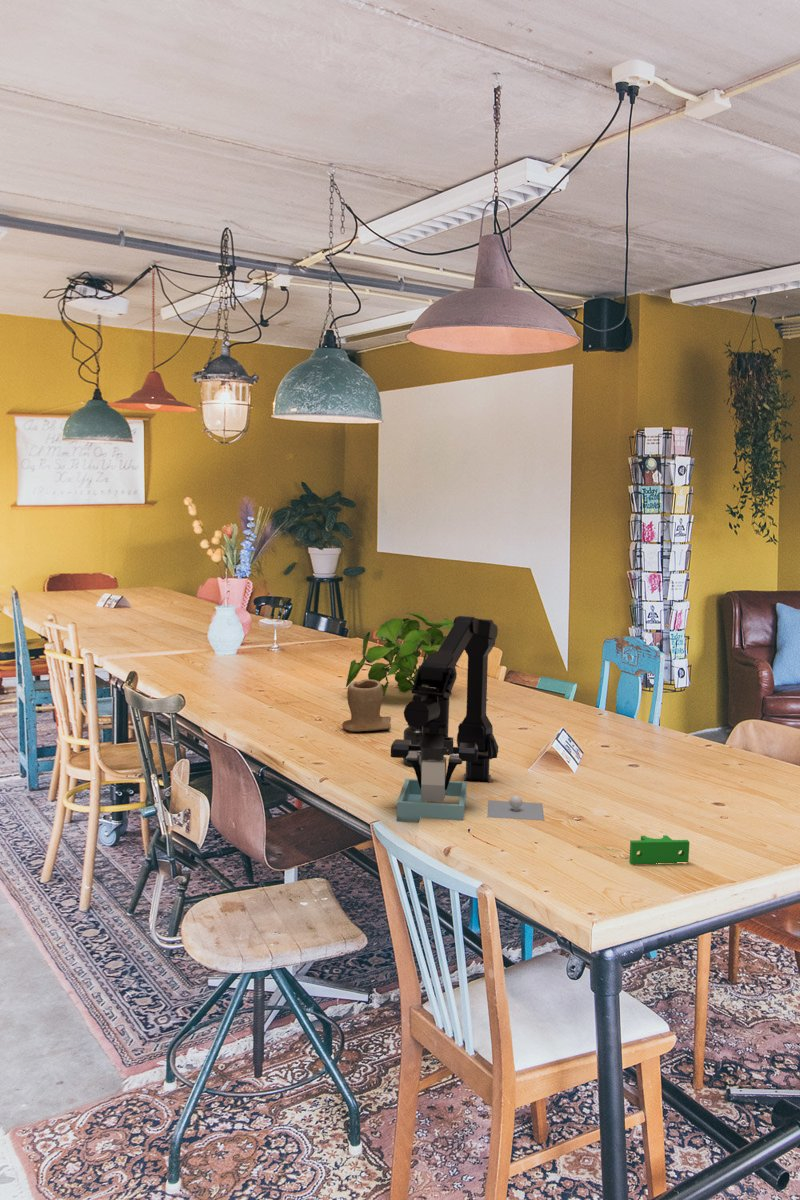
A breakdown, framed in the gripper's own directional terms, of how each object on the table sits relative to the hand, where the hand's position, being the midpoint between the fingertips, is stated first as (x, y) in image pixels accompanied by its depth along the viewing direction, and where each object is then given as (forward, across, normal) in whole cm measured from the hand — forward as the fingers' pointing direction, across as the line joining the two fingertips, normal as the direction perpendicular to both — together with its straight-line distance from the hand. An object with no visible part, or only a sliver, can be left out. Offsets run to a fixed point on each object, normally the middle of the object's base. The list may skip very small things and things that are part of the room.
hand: (433, 788), depth 214 cm
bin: (+5, 0, 0) cm, 5 cm away
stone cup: (+5, -24, +71) cm, 75 cm away
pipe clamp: (+5, +45, -23) cm, 51 cm away
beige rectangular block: (+2, 0, 0) cm, 2 cm away
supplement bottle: (+5, -7, +37) cm, 38 cm away
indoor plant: (+5, -18, +121) cm, 122 cm away
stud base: (+5, +18, 0) cm, 19 cm away
